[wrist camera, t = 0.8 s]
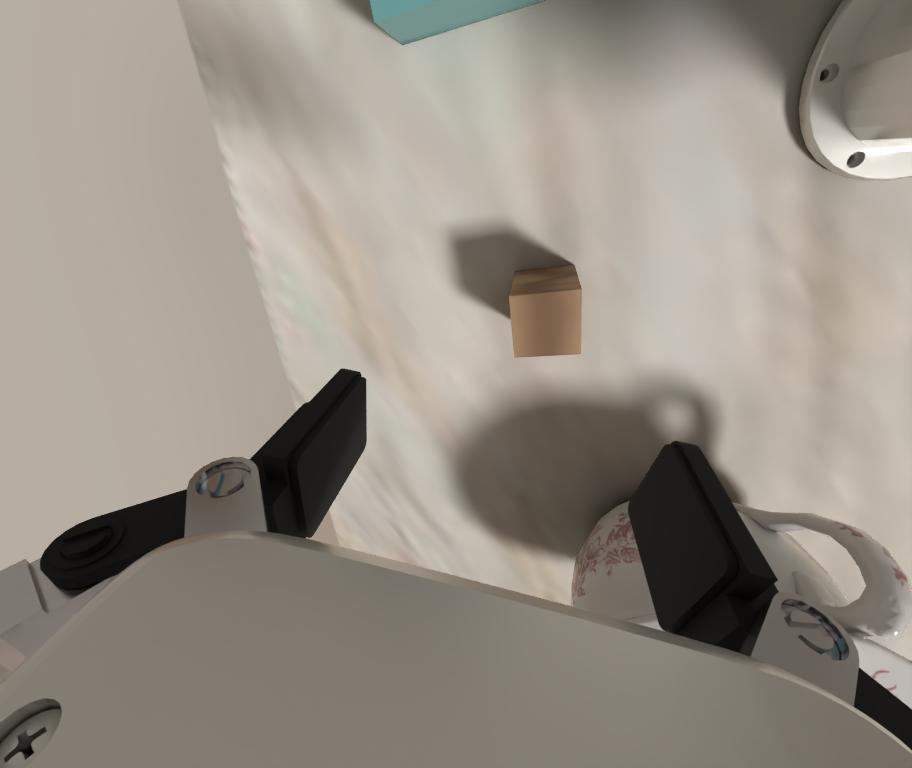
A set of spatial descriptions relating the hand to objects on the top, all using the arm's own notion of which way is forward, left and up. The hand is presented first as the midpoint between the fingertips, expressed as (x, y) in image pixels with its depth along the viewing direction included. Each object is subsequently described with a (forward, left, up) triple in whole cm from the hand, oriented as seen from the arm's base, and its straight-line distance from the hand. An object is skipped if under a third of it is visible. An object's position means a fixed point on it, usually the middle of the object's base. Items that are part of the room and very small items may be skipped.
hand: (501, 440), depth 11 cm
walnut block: (-1, +3, -24) cm, 24 cm away
